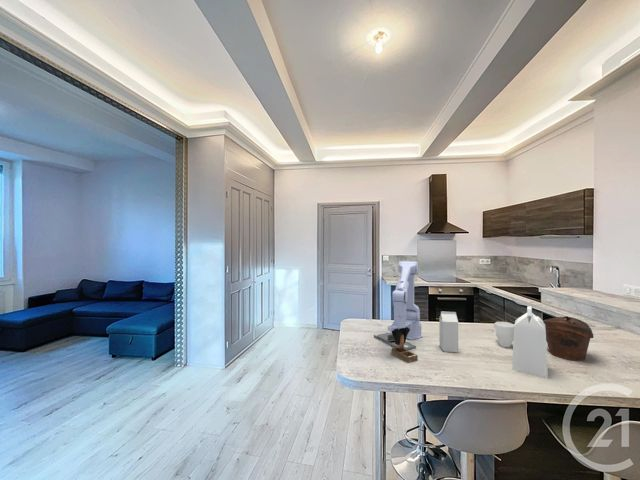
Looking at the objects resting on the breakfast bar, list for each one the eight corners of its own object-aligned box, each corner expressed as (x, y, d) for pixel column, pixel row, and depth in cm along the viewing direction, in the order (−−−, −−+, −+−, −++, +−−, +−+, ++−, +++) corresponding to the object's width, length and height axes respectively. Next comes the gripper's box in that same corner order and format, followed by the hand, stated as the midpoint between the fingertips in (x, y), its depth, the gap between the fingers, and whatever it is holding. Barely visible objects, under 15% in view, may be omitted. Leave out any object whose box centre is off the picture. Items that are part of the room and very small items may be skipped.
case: (575, 348, 136) (574, 312, 136) (605, 366, 116) (604, 325, 116) (534, 345, 140) (533, 311, 140) (556, 362, 121) (555, 322, 121)
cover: (390, 333, 154) (390, 328, 154) (401, 338, 146) (401, 333, 146) (376, 336, 150) (376, 330, 150) (387, 341, 141) (387, 336, 141)
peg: (402, 345, 130) (402, 333, 130) (404, 348, 127) (404, 335, 127) (396, 345, 130) (396, 333, 130) (397, 348, 127) (397, 335, 127)
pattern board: (387, 334, 157) (387, 332, 157) (415, 348, 136) (415, 345, 136) (373, 337, 152) (373, 335, 152) (401, 351, 132) (401, 349, 132)
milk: (514, 359, 123) (513, 303, 123) (547, 367, 116) (546, 307, 116) (512, 369, 114) (511, 308, 114) (547, 378, 107) (547, 313, 107)
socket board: (400, 351, 133) (400, 346, 133) (417, 360, 123) (417, 355, 123) (391, 353, 130) (391, 348, 130) (407, 363, 120) (407, 357, 120)
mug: (519, 348, 135) (518, 326, 135) (503, 349, 135) (503, 326, 135) (501, 340, 147) (501, 319, 147) (487, 340, 147) (487, 319, 147)
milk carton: (458, 352, 131) (458, 314, 131) (442, 351, 132) (442, 313, 132) (454, 347, 138) (454, 310, 138) (439, 346, 139) (439, 309, 139)
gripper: (403, 311, 136) (403, 338, 136) (383, 315, 128) (383, 343, 128) (415, 314, 130) (415, 342, 130) (394, 319, 122) (394, 348, 122)
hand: (400, 343), depth 129 cm, fingers closed on peg, 3 cm apart
